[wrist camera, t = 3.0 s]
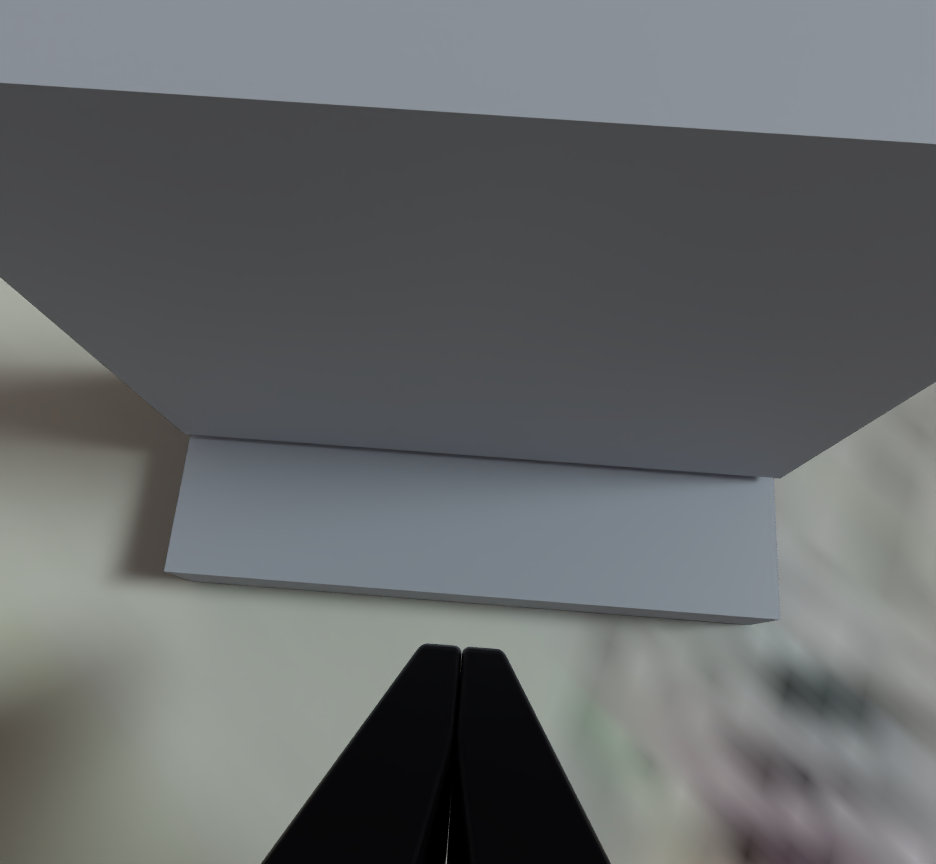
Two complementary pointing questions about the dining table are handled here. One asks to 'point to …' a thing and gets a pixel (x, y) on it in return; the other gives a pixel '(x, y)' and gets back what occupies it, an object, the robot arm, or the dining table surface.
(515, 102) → the sliding jaw
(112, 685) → the dining table surface
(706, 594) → the plate
